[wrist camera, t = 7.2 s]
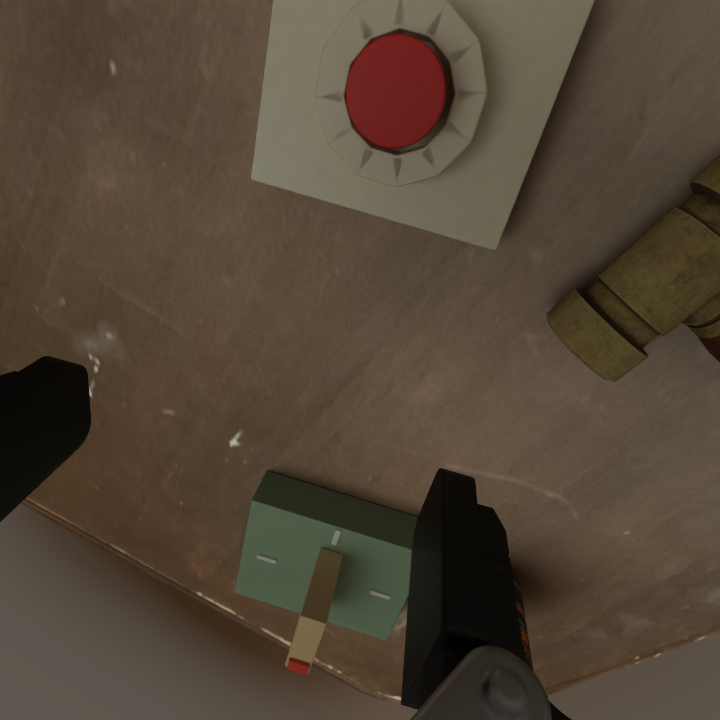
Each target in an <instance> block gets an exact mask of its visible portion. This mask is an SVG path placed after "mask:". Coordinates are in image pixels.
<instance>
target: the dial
mask: <svg viewBox="0 0 720 720" xmlns="http://www.w3.org/2000/svg"><path fill="white" fill-rule="evenodd" d="M342 557H343V555H342V554H340V553H336V552H333V551H330V550H327V549H324V548H320V550H319V554H318V557H317V560H316V563H315V566H314V570H313V573H312V576H311V579H310V583H309V586H308V589H307V592H306V596H305V599H304V602H303V606H302V609H301V612H300V616H299V619H298V623H297V626H296V629H295V633H294V636H293V640H292V643H291V646H290V650H289V653H288V657H287V660H286V664H285V666H286V667H287V669H288V670H290V671H294V672H297V673H300V674H303V675H306V674H307V673H309V671H310V668H311V666H312V663H313V660H314V658H315V655H316V652H317V649H318V646H319V644H320V641H321V638H322V635H323V633H324V630H325V627H326V624H327V620H328V616H329V612H330V608H331V604H332V599H333V595H334V591H335V587H336V582H337V578H338V574H339V570H340V566H341V561H342Z"/></svg>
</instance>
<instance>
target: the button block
mask: <svg viewBox="0 0 720 720" xmlns="http://www.w3.org/2000/svg"><path fill="white" fill-rule="evenodd" d="M594 1H595V0H273V8H272V15H271V23H270V31H269V39H268V47H267V55H266V63H265V71H264V79H263V87H262V95H261V103H260V111H259V119H258V127H257V135H256V143H255V151H254V159H253V167H252V175H251V179H252V180H254V181H258V182H261V183H264V184H268V185H271V186H275V187H278V188H282V189H285V190H288V191H292V192H295V193H299V194H302V195H306V196H309V197H312V198H316V199H319V200H323V201H326V202H330V203H333V204H336V205H340V206H343V207H347V208H350V209H354V210H357V211H361V212H364V213H367V214H371V215H374V216H378V217H381V218H385V219H388V220H391V221H395V222H398V223H402V224H405V225H409V226H412V227H415V228H419V229H422V230H426V231H429V232H433V233H436V234H439V235H443V236H446V237H450V238H453V239H457V240H460V241H463V242H467V243H470V244H474V245H477V246H481V247H484V248H488V249H491V250H494V251H495V250H496V249H497V247H498V244H499V242H500V239H501V236H502V234H503V231H504V229H505V226H506V224H507V221H508V219H509V216H510V214H511V211H512V209H513V206H514V204H515V201H516V199H517V196H518V193H519V191H520V188H521V186H522V183H523V181H524V178H525V176H526V173H527V171H528V168H529V166H530V163H531V161H532V158H533V156H534V153H535V150H536V148H537V145H538V143H539V140H540V138H541V135H542V133H543V130H544V128H545V125H546V123H547V120H548V118H549V115H550V113H551V110H552V107H553V105H554V102H555V100H556V97H557V95H558V92H559V90H560V87H561V85H562V82H563V80H564V77H565V75H566V72H567V70H568V67H569V64H570V62H571V59H572V57H573V54H574V52H575V49H576V47H577V44H578V42H579V39H580V37H581V34H582V32H583V29H584V27H585V24H586V22H587V19H588V16H589V14H590V11H591V9H592V6H593V4H594ZM390 34H405V35H410V36H413V37H415V38H418V39H419V40H421V41H423V42H424V43H425V44H427V45H428V46H429V47H430V48H431V49H432V50H433V52H434V53H435V54H436V56H437V57H438V59H439V61H440V63H441V66H442V68H443V71H444V76H445V82H446V99H445V104H444V108H443V111H442V114H441V116H440V118H439V120H438V122H437V123H436V125H435V126H434V128H433V129H432V130H431V131H430V132H429V133H428V134H427V135H426V136H425V137H424V138H423V139H421V140H420V141H418V142H416V143H415V144H413V145H410V146H407V147H403V148H396V149H392V148H385V147H381V146H378V145H376V144H374V143H372V142H370V141H369V140H367V139H366V138H365V137H364V136H363V135H362V134H361V133H360V132H359V131H358V129H357V128H356V126H355V125H354V123H353V121H352V119H351V117H350V114H349V111H348V107H347V101H346V86H347V80H348V76H349V72H350V70H351V67H352V65H353V63H354V61H355V59H356V58H357V57H358V55H359V54H360V53H361V51H362V50H363V49H364V48H365V47H366V46H368V45H369V44H370V43H371V42H373V41H375V40H376V39H378V38H380V37H383V36H386V35H390Z"/></svg>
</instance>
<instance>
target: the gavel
mask: <svg viewBox="0 0 720 720" xmlns="http://www.w3.org/2000/svg"><path fill="white" fill-rule="evenodd" d="M689 184H690V188H691V190H692V192H693V193H694V195H693V196H691V197H690V198H689V199H688V200H687V201H686V202H685V203H684V204H683V205H681V206H680V207H679V208H673V209H671V210H670V211H669V212H668V213H667V214H666V215H665V216H664V217H663V218H661V219H660V220H659V221H658V222H657V223H656V224H655V225H654V226H653V227H651V228H650V229H649V230H648V231H647V232H646V233H645V234H644V235H643V236H642V237H640V238H639V239H638V240H637V241H636V242H635V243H634V244H633V245H632V246H630V247H629V248H628V249H627V250H626V251H625V252H624V253H623V254H622V255H620V256H619V257H618V258H617V259H616V260H615V261H614V262H613V263H612V264H610V265H609V266H608V267H607V268H606V269H605V270H604V271H603V272H602V273H601V274H599V275H598V276H599V278H600V279H599V280H598V281H597V282H596V283H595V284H593V285H592V286H591V287H590V288H589V289H588V290H587V291H586V292H582V291H581V290H579V289H578V288H574V289H573V290H572V291H571V292H570V293H569V294H568V295H566V296H565V297H564V298H563V299H562V300H561V301H560V302H559V303H558V304H557V305H555V306H554V307H553V308H552V309H551V310H550V311H549V312H548V313H547V321H548V323H549V325H550V327H551V329H552V330H553V331H554V333H555V334H556V335H557V336H558V338H559V339H560V340H561V341H562V342H563V343H564V344H565V345H566V346H567V348H568V349H569V350H570V351H571V352H572V353H573V354H574V355H575V356H576V357H577V358H579V359H580V360H581V361H582V362H583V363H584V364H585V365H586V366H587V367H589V368H590V369H591V370H592V371H594V372H595V373H596V374H598V375H599V376H600V377H602V378H604V379H606V380H609V381H614V382H616V381H617V380H619V379H620V378H621V377H623V376H624V375H625V374H627V373H628V372H629V371H631V370H632V369H633V368H634V367H636V366H637V365H638V364H640V363H641V362H642V361H644V360H645V359H646V358H648V354H647V353H646V352H645V350H644V349H643V347H644V346H645V345H647V344H648V343H649V342H651V341H652V340H653V339H654V338H656V337H657V336H658V335H660V334H661V335H663V336H664V335H666V334H667V333H668V332H669V331H671V330H672V329H673V328H675V327H676V326H677V325H678V324H680V323H681V322H682V323H684V324H686V325H687V326H688V327H689V328H690V329H691V330H692V331H693V332H694V333H695V334H697V336H698V337H699V339H700V340H701V342H702V343H703V344H704V346H705V347H706V349H707V350H708V351H709V353H710V354H712V355H713V356H714V357H715V358H716V359H717V360H718V361H719V362H720V156H719V157H718V158H716V159H715V160H714V161H713V162H712V163H711V164H710V165H709V166H708V167H707V168H705V169H704V170H703V171H702V172H701V173H700V174H699V175H698V176H697V177H696V178H695V179H693V180H692V181H691V182H690V183H689Z"/></svg>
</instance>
